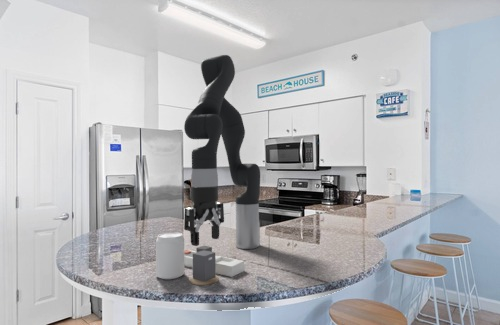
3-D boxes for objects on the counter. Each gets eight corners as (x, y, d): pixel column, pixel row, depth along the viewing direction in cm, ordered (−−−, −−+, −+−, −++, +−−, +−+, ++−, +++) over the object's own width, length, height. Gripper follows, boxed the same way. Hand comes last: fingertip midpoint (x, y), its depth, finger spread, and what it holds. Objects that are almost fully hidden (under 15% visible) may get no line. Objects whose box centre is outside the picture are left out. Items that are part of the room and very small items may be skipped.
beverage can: (186, 271, 98) (186, 231, 98) (181, 280, 90) (181, 237, 90) (160, 271, 97) (159, 232, 97) (152, 280, 89) (152, 238, 89)
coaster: (203, 273, 95) (203, 271, 95) (224, 278, 91) (224, 276, 91) (183, 281, 88) (183, 279, 88) (205, 287, 84) (205, 285, 84)
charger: (203, 274, 93) (203, 250, 93) (215, 277, 90) (215, 252, 90) (192, 278, 89) (192, 253, 89) (205, 281, 86) (205, 256, 87)
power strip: (183, 257, 112) (183, 240, 112) (244, 270, 97) (244, 251, 98) (169, 262, 107) (169, 244, 107) (231, 276, 92) (231, 256, 92)
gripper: (210, 182, 98) (211, 235, 98) (176, 186, 86) (177, 246, 86) (230, 183, 94) (231, 238, 94) (197, 187, 82) (198, 249, 82)
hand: (205, 241), depth 90 cm, fingers open, 8 cm apart
